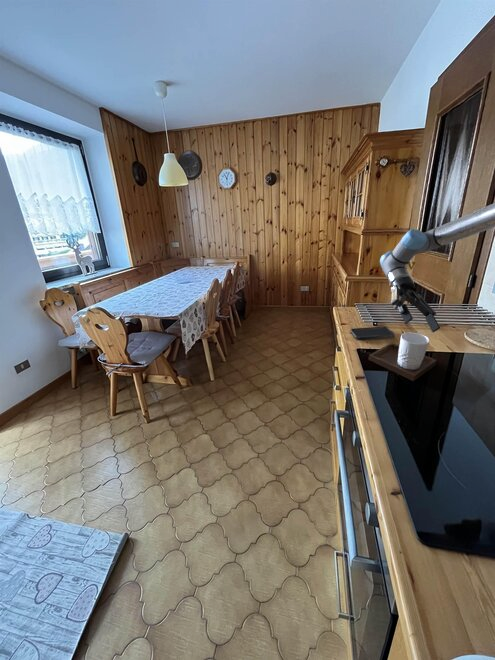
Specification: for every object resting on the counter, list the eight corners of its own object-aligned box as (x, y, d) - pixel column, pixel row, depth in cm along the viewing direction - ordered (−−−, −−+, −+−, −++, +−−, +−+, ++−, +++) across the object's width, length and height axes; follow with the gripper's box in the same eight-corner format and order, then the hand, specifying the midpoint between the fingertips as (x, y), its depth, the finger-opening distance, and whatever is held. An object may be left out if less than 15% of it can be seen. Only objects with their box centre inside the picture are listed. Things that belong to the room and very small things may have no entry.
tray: (435, 365, 94) (436, 360, 93) (413, 381, 87) (414, 375, 86) (390, 347, 105) (391, 342, 104) (368, 359, 99) (369, 354, 98)
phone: (350, 328, 117) (385, 326, 117) (349, 331, 118) (385, 328, 118) (357, 337, 110) (395, 335, 110) (356, 340, 111) (394, 337, 111)
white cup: (406, 355, 99) (412, 330, 94) (427, 366, 92) (435, 340, 88) (390, 361, 96) (395, 336, 91) (410, 373, 89) (417, 346, 85)
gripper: (415, 297, 117) (437, 339, 105) (369, 280, 109) (388, 323, 96) (431, 285, 112) (456, 327, 99) (384, 266, 103) (406, 310, 91)
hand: (423, 325), depth 98 cm, fingers open, 13 cm apart
